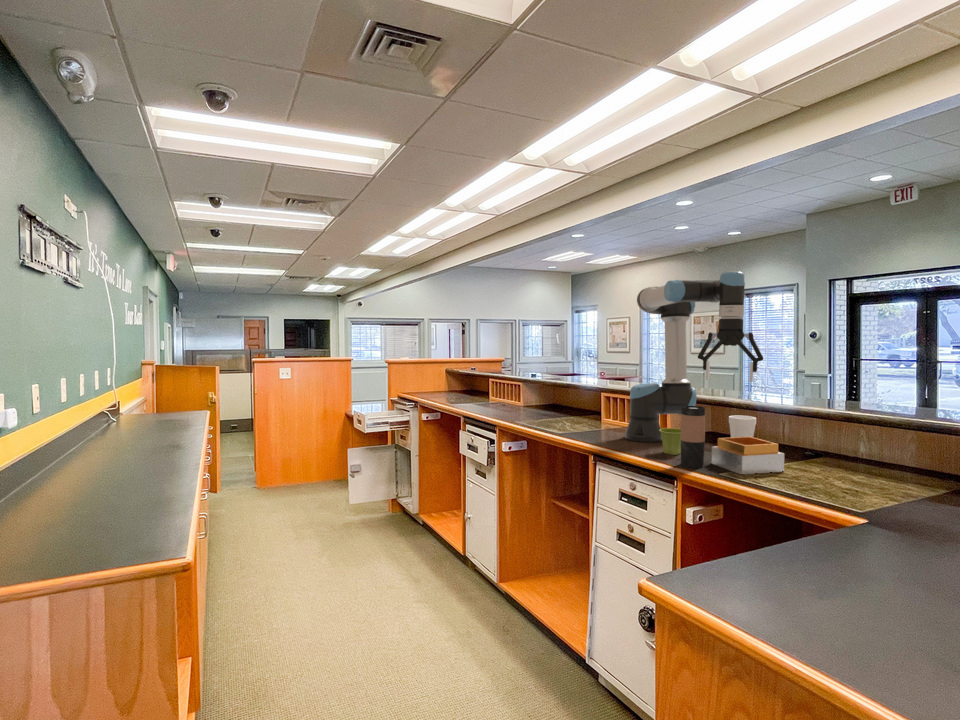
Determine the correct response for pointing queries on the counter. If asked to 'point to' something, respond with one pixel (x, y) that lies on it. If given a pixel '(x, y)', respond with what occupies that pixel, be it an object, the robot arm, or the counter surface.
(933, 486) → the counter surface
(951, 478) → the counter surface
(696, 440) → the travel mug
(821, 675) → the counter surface
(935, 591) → the counter surface
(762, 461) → the grey and brown box
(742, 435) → the foam cup
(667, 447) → the plant pot
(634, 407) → the robot arm
